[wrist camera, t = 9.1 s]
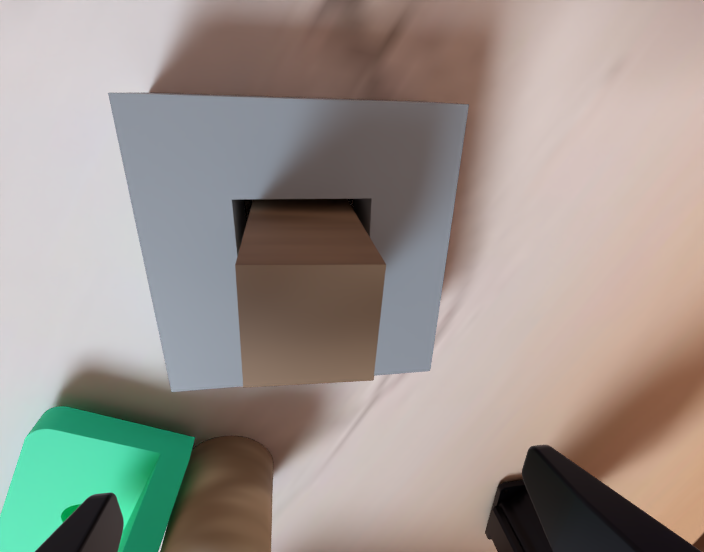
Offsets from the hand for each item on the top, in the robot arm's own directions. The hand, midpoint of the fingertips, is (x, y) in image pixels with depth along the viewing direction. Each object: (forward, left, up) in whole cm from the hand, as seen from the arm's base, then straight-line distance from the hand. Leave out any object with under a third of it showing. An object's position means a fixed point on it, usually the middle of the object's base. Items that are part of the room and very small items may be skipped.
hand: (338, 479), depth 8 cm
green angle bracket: (+13, +14, -13) cm, 23 cm away
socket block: (0, -1, -13) cm, 13 cm away
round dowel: (+5, +15, -13) cm, 20 cm away
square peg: (0, -2, -13) cm, 13 cm away
